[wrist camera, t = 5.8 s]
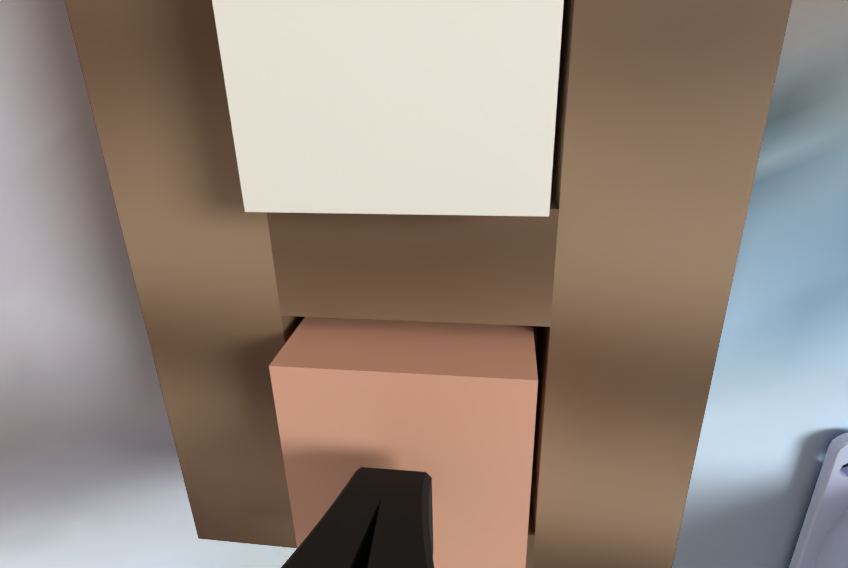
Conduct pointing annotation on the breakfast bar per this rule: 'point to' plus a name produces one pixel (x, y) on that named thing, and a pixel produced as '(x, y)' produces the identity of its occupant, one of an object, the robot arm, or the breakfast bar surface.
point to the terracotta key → (414, 424)
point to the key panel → (456, 260)
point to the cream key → (392, 104)
